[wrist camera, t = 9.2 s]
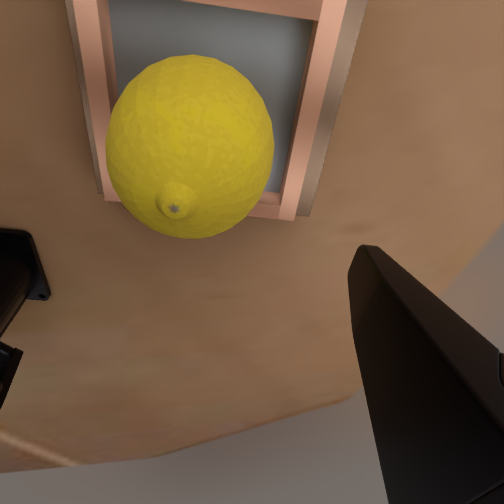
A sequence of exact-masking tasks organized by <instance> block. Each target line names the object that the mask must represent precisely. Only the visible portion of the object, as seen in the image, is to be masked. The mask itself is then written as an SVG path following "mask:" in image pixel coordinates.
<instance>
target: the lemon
mask: <svg viewBox="0 0 504 504" xmlns="http://www.w3.org/2000/svg"><path fill="white" fill-rule="evenodd" d="M105 149H106V166H107V171H108V174H109V177H110V180H111V183H112V186H113V188H114V190H115V192H116V193H117V195H118V197H119V198H120V200H121V202H122V203H123V205H124V206H125V208H126V209H127V210H128V211H129V212H130V213H131V214H132V215H133V216H134V217H135V218H136V219H138V220H139V221H140V222H142V223H143V224H145V225H146V226H148V227H149V228H151V229H153V230H156V231H158V232H160V233H162V234H165V235H169V236H173V237H177V238H187V239H199V238H204V237H210V236H214V235H216V234H219V233H221V232H223V231H226V230H228V229H230V228H232V227H233V226H234V225H236V224H237V223H238V222H240V221H241V220H242V219H244V218H245V217H246V216H247V214H248V213H249V212H250V211H251V210H252V208H253V207H254V206H255V205H256V203H257V202H258V200H259V199H260V197H261V195H262V193H263V190H264V188H265V186H266V184H267V181H268V179H269V176H270V173H271V169H272V162H273V154H274V138H273V130H272V122H271V119H270V117H269V114H268V112H267V109H266V106H265V104H264V101H263V99H262V98H261V96H260V95H259V93H258V92H257V91H256V89H255V88H254V87H253V85H252V84H251V82H250V81H249V80H248V79H247V78H245V77H244V76H243V75H242V74H241V73H239V72H238V71H237V70H236V69H235V68H234V67H232V66H230V65H228V64H226V63H223V62H221V61H219V60H217V59H215V58H211V57H205V56H200V55H194V54H192V55H183V56H173V57H169V58H166V59H164V60H162V61H159V62H157V63H154V64H152V65H150V66H148V67H147V68H146V69H144V70H143V71H142V72H141V73H140V74H139V75H137V76H136V77H135V78H134V79H133V80H132V81H130V82H129V83H128V85H127V86H126V88H125V89H124V91H123V93H122V94H121V96H120V97H119V99H118V101H117V102H116V104H115V106H114V108H113V111H112V114H111V118H110V122H109V126H108V129H107V133H106V139H105Z"/></svg>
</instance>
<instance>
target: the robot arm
mask: <svg viewBox="0 0 504 504" xmlns="http://www.w3.org/2000/svg"><path fill="white" fill-rule="evenodd" d="M23 238H24V239H23ZM348 289H349V301H350V312H351V323H352V332H353V338H354V344H355V349H356V353H357V358H358V363H359V367H360V372H361V377H362V381H363V386H364V391H365V395H366V400H367V405H368V409H369V414H370V419H371V423H372V428H373V432H374V437H375V442H376V447H377V451H378V456H379V461H380V466H381V470H382V475H383V479H384V484H385V489H386V493H387V498H388V503H389V504H504V353H499V349H498V348H496V347H495V346H494V345H493V344H492V343H490V342H489V341H488V340H487V339H486V338H485V337H483V336H482V335H481V334H480V333H479V332H478V331H476V330H475V329H474V328H473V327H472V326H471V325H470V324H468V323H467V322H466V321H465V320H464V319H462V318H461V317H460V316H459V315H458V314H456V313H455V312H454V311H453V310H452V309H451V308H449V307H448V306H447V305H446V304H445V303H444V302H442V301H441V300H440V299H439V298H438V297H437V296H436V295H434V294H433V293H432V292H431V291H430V290H428V289H427V288H426V287H425V286H424V285H423V284H421V283H420V282H419V281H418V280H417V279H416V278H414V277H413V276H412V275H411V274H410V273H409V272H407V271H406V270H405V269H404V268H403V267H402V266H400V265H399V264H398V263H397V262H396V261H394V260H393V259H392V258H391V257H390V256H389V255H387V254H386V253H385V252H384V251H383V250H382V249H380V248H379V247H377V246H372V245H360V246H359V247H358V249H357V251H356V253H355V256H354V258H353V261H352V263H351V265H350V268H349V271H348ZM50 295H51V292H50V289H49V286H48V283H47V280H46V277H45V274H44V271H43V268H42V265H41V262H40V259H39V256H38V253H37V250H36V247H35V244H34V241H33V238H32V236H31V235H30V234H29V233H28V232H26V231H23V230H13V229H3V228H0V338H1V337H2V335H3V334H4V332H5V331H6V329H7V328H8V326H9V325H10V323H11V322H12V320H13V319H14V317H15V316H16V314H17V313H18V311H19V310H20V308H21V307H22V305H23V304H24V302H25V301H26V299H31V300H42V301H46V300H48V299H49V297H50ZM22 355H23V351H21V350H20V349H18V348H12V347H11V346H9V345H7V344H5V343H3V342H1V341H0V409H1V407H2V405H3V403H4V400H5V398H6V395H7V393H8V390H9V388H10V385H11V383H12V380H13V378H14V375H15V373H16V370H17V368H18V365H19V362H20V360H21V357H22Z"/></svg>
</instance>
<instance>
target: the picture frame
mask: <svg viewBox="0 0 504 504" xmlns="http://www.w3.org/2000/svg"><path fill="white" fill-rule="evenodd" d="M65 2H66V8H67V14H68V20H69V25H70V31H71V37H72V43H73V49H74V55H75V60H76V66H77V72H78V78H79V84H80V90H81V95H82V101H83V107H84V113H85V119H86V125H87V130H88V136H89V142H90V148H91V154H92V160H93V165H94V171H95V177H96V183H97V189H98V193H99V194H104V199H105V201H115V202H121V200H120V198H119V197H118V195H117V193H116V192H115V190H114V188H113V186H112V183H111V180H110V177H109V174H108V171H107V166H106V149H105V139H106V133H107V129H108V126H109V122H110V118H111V114H112V111H113V108H114V106H115V104H116V102H117V101H118V99H119V97H120V96H121V94H122V93H123V91H124V89H125V88H126V86H127V85H128V83H129V82H130V81H132V80H133V79H134V78H135V77H136V76H137V75H139V74H140V73H141V72H142V71H143V70H144V69H146V68H147V67H148V66H150V65H152V64H154V63H157V62H159V61H162V60H164V59H166V58H169V57H173V56H183V55H192V54H194V55H200V56H205V57H211V58H215V59H217V60H219V61H221V62H223V63H226V64H228V65H230V66H232V67H234V68H235V69H236V70H237V71H238V72H239V73H241V74H242V75H243V76H244V77H245V78H247V79H248V80H249V81H250V82H251V84H252V85H253V87H254V88H255V89H256V91H257V92H258V93H259V95H260V96H261V98H262V99H263V101H264V104H265V106H266V109H267V112H268V114H269V117H270V119H271V122H272V130H273V138H274V154H273V162H272V169H271V173H270V176H269V179H268V181H267V184H266V186H265V188H264V190H263V193H262V195H261V197H260V199H259V200H258V202H257V203H256V205H255V206H254V207H253V208H252V210H251V211H250V212H249V213H248V214H247V216H252V217H261V218H270V219H279V220H289V221H294V218H295V215H298V216H308V217H309V215H310V211H311V208H312V204H313V200H314V197H315V193H316V189H317V186H318V182H319V178H320V175H321V171H322V167H323V164H324V160H325V156H326V153H327V149H328V145H329V142H330V138H331V134H332V131H333V127H334V123H335V120H336V116H337V112H338V109H339V105H340V101H341V97H342V94H343V90H344V86H345V83H346V79H347V75H348V72H349V68H350V64H351V61H352V57H353V53H354V50H355V46H356V42H357V39H358V35H359V31H360V28H361V24H362V20H363V17H364V13H365V9H366V6H367V2H368V0H65Z"/></svg>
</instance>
